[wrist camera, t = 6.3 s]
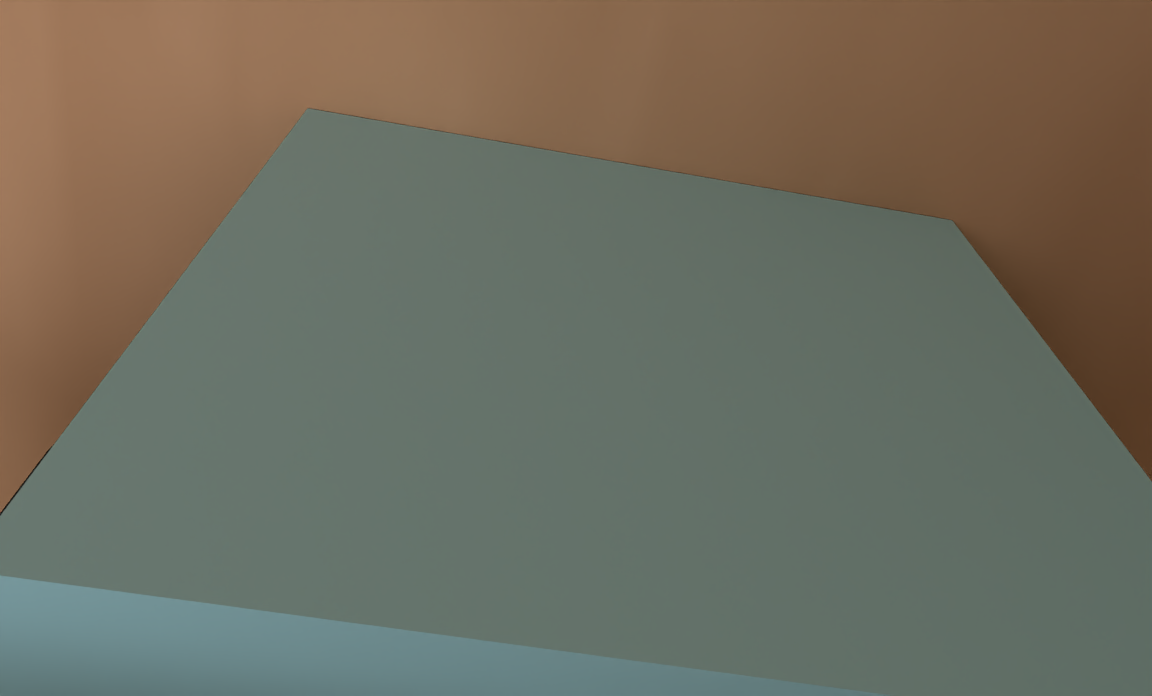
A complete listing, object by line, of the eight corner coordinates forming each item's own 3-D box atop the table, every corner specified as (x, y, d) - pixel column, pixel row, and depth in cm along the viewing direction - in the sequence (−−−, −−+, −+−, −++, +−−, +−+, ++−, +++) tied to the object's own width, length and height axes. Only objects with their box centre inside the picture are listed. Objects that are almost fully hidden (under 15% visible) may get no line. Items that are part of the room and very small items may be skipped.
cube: (952, 220, 10) (1362, 758, 5) (777, 668, 13) (910, 1304, 8) (308, 108, 9) (-40, 568, 4) (282, 602, 12) (60, 1231, 7)
